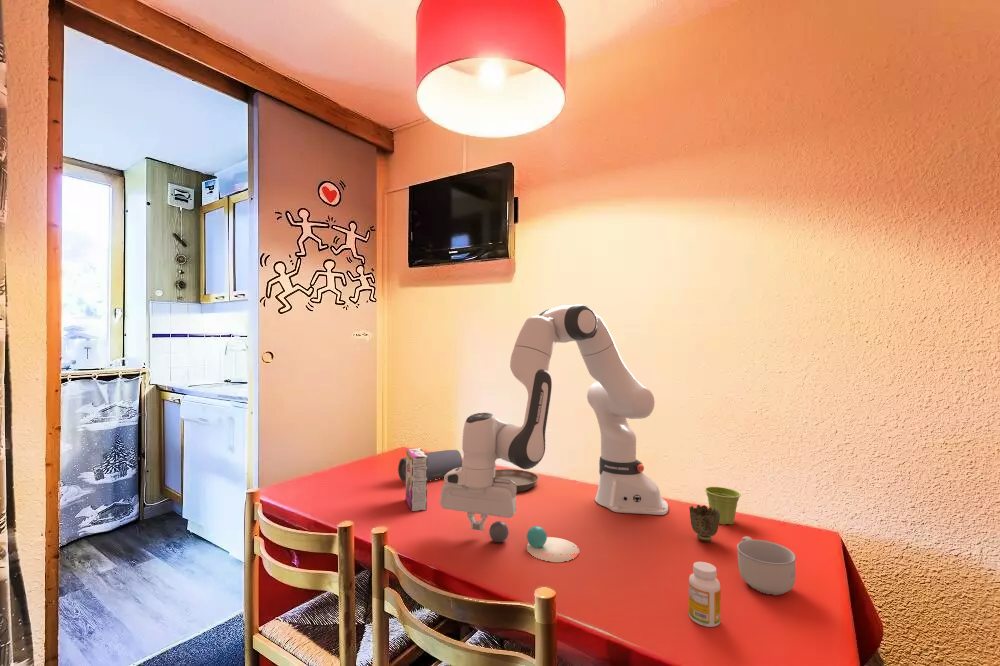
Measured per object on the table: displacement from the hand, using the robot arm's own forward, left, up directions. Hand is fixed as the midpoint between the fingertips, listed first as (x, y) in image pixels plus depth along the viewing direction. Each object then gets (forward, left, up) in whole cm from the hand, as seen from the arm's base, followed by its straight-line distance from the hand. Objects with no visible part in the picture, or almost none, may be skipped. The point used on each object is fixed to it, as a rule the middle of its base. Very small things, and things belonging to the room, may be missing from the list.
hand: (477, 529), depth 115 cm
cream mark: (-20, 0, -2) cm, 20 cm away
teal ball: (-16, 0, 0) cm, 16 cm away
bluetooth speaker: (+33, -40, -2) cm, 52 cm away
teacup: (-66, 0, -2) cm, 66 cm away
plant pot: (-64, -35, -2) cm, 73 cm away
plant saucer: (+4, -45, -3) cm, 45 cm away
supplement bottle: (-52, +18, -2) cm, 55 cm away
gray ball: (-6, 0, 0) cm, 6 cm away
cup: (-57, -19, -2) cm, 60 cm away
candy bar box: (+26, -15, -2) cm, 30 cm away
